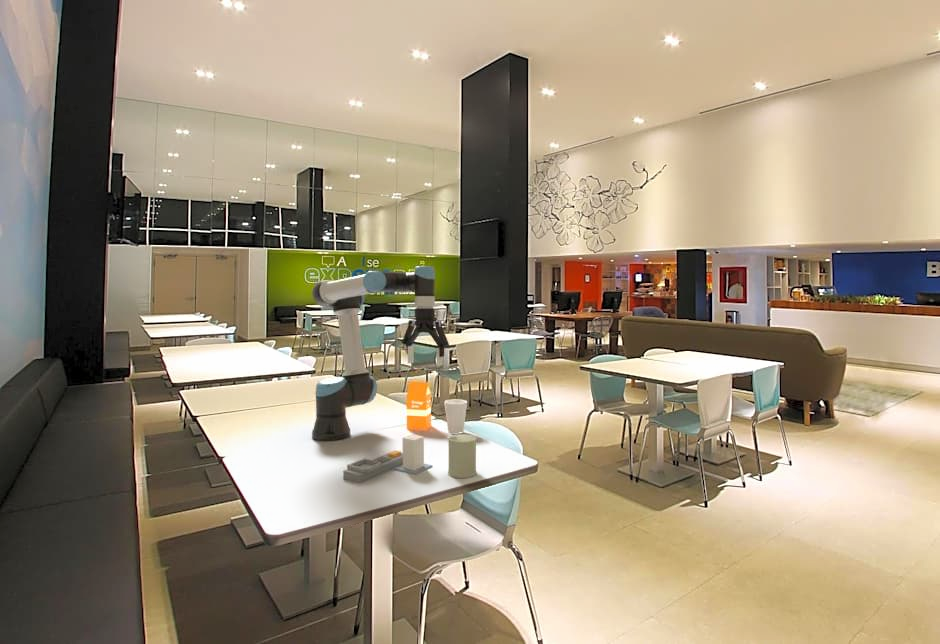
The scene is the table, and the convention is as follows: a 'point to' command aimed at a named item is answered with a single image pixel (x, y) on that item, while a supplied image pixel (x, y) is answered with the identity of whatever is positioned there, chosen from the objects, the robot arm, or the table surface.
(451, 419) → the foam cup
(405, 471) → the mat
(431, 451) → the table surface
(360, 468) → the strip
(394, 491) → the table surface
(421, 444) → the white tall block
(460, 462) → the can
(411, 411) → the orange juice
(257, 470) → the table surface
